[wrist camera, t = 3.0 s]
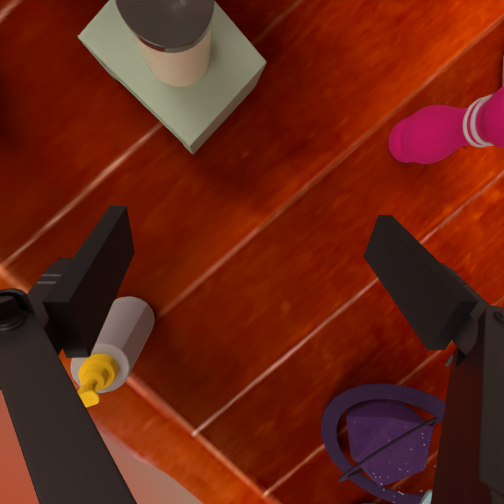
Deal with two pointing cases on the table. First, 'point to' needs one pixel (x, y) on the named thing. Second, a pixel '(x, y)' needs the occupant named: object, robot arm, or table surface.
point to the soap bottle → (114, 349)
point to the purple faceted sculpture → (382, 436)
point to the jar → (171, 36)
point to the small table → (179, 98)
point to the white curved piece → (503, 74)
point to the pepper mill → (448, 130)
